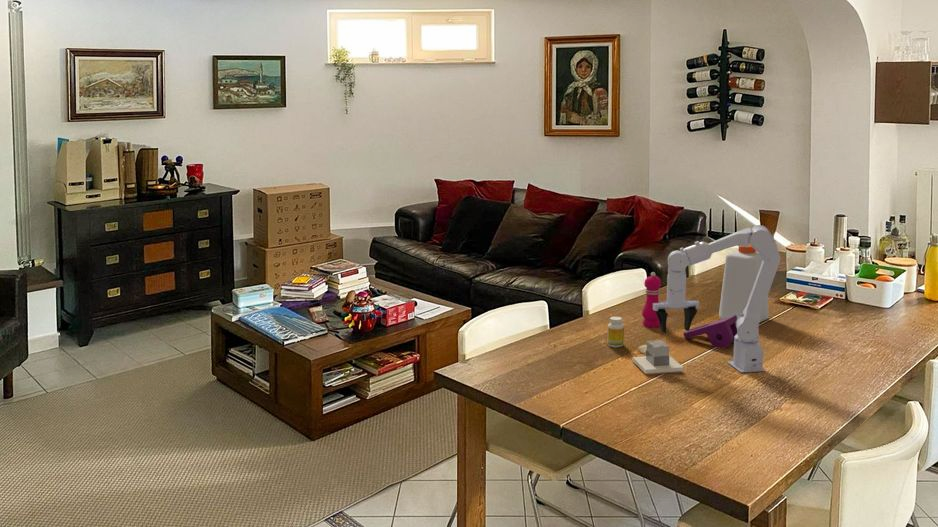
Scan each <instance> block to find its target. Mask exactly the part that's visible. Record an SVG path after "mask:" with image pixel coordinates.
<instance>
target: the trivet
mask: <svg viewBox="0 0 938 527" xmlns="http://www.w3.org/2000/svg"><path fill="white" fill-rule="evenodd" d="M669 356H670V358H669V365H665V366H653V365H652V364H651V363H650V362H649V361H648V360H646V355H645V356H632V362H633V363H634V364H635V366H636V367H638V368H639V370H641V372H643V374H645V375H646V376H648V375H649V376H650V375H663V374H664V375H665V374H679V373H680V374H681V373H682V372H684V367H683V366H682V365H681V364H680V363H679V362H678V361H676V359H675V358H673V357H672V356H671V355H670V354H669Z"/></svg>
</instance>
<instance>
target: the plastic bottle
mask: <svg viewBox="0 0 938 527" xmlns="http://www.w3.org/2000/svg"><path fill="white" fill-rule="evenodd" d="M748 246H749V247H744V246H740V245H738V250H735V251H731V252H728V253H727V254H726V255H725V261H724V269H723V278H722V285H721V286H722V288H721V293H720V303H719V311H718V315H719V318H720V320H721V319H724V318H728V317H731V316H734V315H736V316H737V319H738V318H739V317H740V316H741V315H742V313H743V310H744V309H745V307H746V305H747V303H748V300H749V297H750V294H751V291H752V289H753V286H754V283H755V280H756V277H757V275H758V272H759V269H760V266H761V263H762V261H763V259H762V257H761V256H760V254H759V252H757V251H756V250H755V249H754V248H753V247H752V246H751V244H748ZM769 308H770V307H769V295H768V296H767V299H766V301H765V304H764V307H763V310H762V312H761V317H760V322H759V323H762V322H764V321H767V320H768V319H769V317H770V315H769V314H770V313H769V311H770V310H769Z"/></svg>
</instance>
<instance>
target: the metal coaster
mask: <svg viewBox="0 0 938 527" xmlns="http://www.w3.org/2000/svg"><path fill="white" fill-rule="evenodd" d="M646 350H647V344H643V345H639V346H638V347H637V351H638V352H639V353H640V354H643V355H646Z"/></svg>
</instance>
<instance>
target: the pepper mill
mask: <svg viewBox="0 0 938 527" xmlns="http://www.w3.org/2000/svg"><path fill="white" fill-rule="evenodd" d="M644 287H645V288H646V289H645V294H646V300H645V303H644V305H643V307H642V310H641V316H642V317H643V318H644V319H643V320H642V325H643V326H644V327H646V328H658V327H661V325H660V321H659V319H658V316H657V314H656V312H655V310H653V303H660V301H659V295H660V291H661V289H660V288H661V287H662V279H661V278H659V276H657V275H656V272H654V271H652V272H651V273H650V276H647V277H645V280H644Z"/></svg>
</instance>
